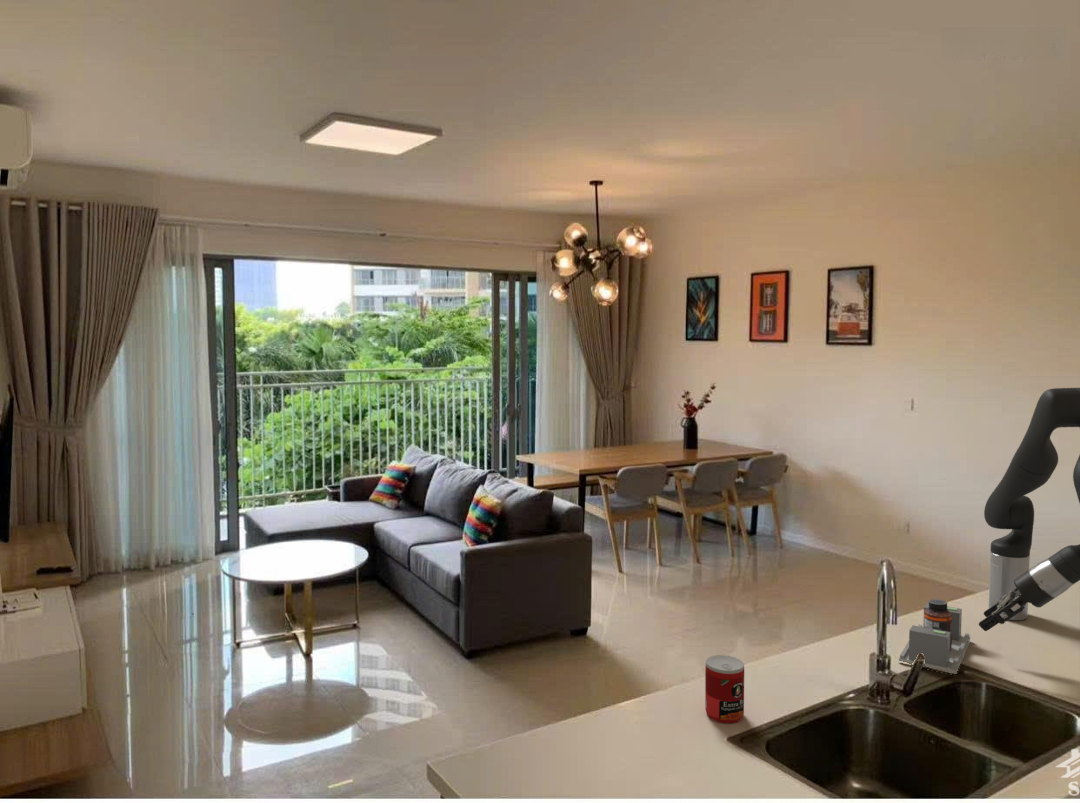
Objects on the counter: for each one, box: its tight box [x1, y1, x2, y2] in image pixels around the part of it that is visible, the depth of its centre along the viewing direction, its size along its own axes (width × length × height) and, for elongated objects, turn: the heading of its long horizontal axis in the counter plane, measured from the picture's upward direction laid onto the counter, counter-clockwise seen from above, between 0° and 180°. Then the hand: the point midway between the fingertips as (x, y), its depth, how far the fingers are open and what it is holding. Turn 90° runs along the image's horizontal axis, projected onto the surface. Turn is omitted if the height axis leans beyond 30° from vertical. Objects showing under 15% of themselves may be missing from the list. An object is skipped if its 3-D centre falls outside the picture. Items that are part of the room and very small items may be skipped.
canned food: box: [704, 654, 745, 724], centre depth 159 cm, size 8×8×11 cm
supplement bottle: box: [923, 598, 952, 649], centre depth 189 cm, size 6×6×11 cm
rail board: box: [898, 602, 971, 674], centre depth 189 cm, size 24×12×8 cm, turn 145°
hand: (984, 622), depth 183 cm, fingers open, 8 cm apart
